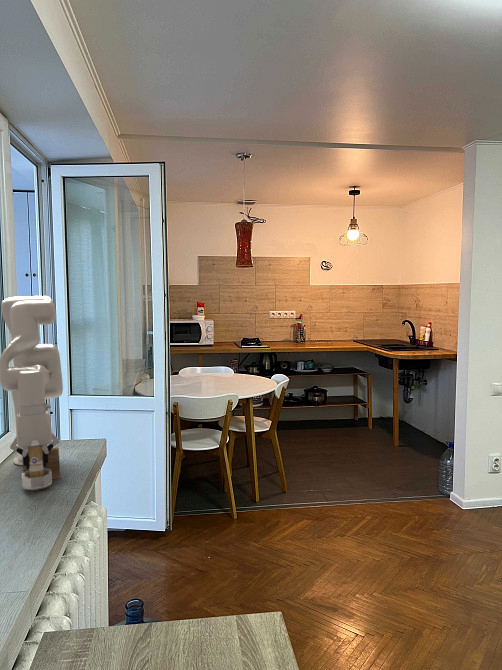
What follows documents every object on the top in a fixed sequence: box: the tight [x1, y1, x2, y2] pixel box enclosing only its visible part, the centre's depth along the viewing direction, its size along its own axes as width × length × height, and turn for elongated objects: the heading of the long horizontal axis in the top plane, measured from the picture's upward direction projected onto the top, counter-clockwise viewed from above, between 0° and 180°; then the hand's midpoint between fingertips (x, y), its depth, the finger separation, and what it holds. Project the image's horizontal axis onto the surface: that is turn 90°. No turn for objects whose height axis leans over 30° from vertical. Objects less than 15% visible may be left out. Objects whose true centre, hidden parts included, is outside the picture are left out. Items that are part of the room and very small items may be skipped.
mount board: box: [22, 446, 61, 480], centre depth 174 cm, size 6×11×10 cm, turn 113°
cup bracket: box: [21, 468, 53, 491], centre depth 166 cm, size 11×9×6 cm
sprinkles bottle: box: [28, 440, 44, 477], centre depth 164 cm, size 5×5×14 cm
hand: (36, 466), depth 165 cm, fingers closed on sprinkles bottle, 4 cm apart
